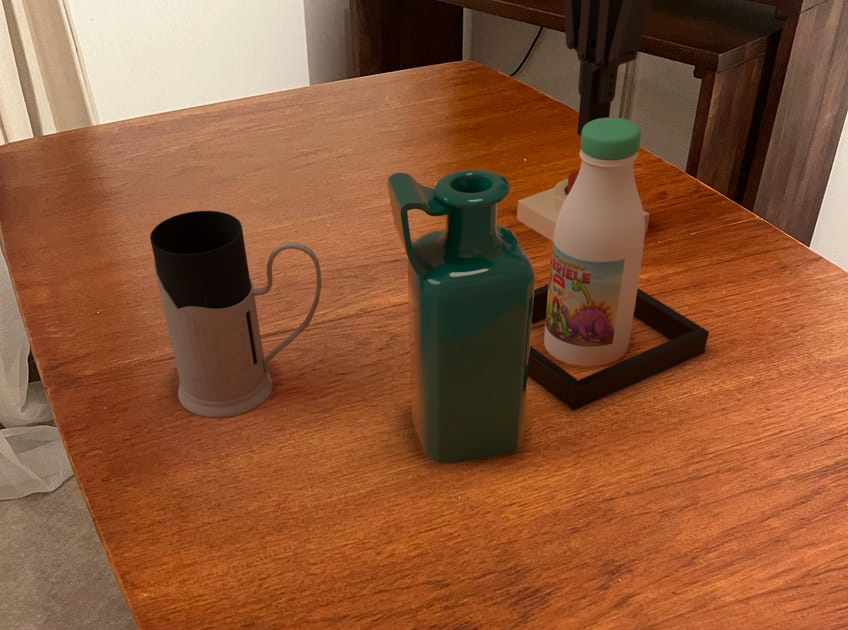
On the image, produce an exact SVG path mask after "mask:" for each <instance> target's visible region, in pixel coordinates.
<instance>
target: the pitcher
mask: <svg viewBox="0 0 848 630" xmlns="http://www.w3.org/2000/svg"><path fill="white" fill-rule="evenodd" d="M387 188H388V195H389V202H390V207H391V214H392V219H393V223H394V227H395V230H396V232H397V234H398V237H399V240H400V242H401V244H402V247H403V250H404V251H405V255H406V256H407V290H408V323H409V324H408V327H409V359H410V361H409V366H410V395H411V396H410V397H411V398H410V400H411V401H410V402H411V420H412V424H413V426H414V429H415V432H416V435H417V437H418V441H419V443H420V446H421V449H422V453H423V455H425V457H427V458H428V459H429V460H431V461H434V462H437V463H440V464H454V463H460V462H462V463H463V462H468V461H475V460H480V459H488V458H493V457H500V456H506V455H510V454H513V453H515V452H517V451H518V450H519V449H520V448H521V446H522V445H523V442H524V435H525V422H526V409H527V394H528V393H527V392H528V380H529V376H528V367H529V353H530V346H531V338H532V337H531V336H532V325H533V324H532V312H533V298H534V289H535V284H536V273H535V270H534V267H533V264H532V262H531V261H530V259H529V256H528V255H527V253H526V252H525V250H524V248H523V246H522V245H521V243H520V241H519V239H518V238H517V235H516V234H515V233H514V231H512V230H511V229H510V228H508V227H506V226H504V225H499V224H497V219H498V218H497V216H498V215H497V214H498V204H499V203H501V202H502V201H504V200H505V199H506V198H507V197H508V196H509V195H510V191H511V188H512V187H511V183H510V182H509V181H508V179H507V178H506V177H505V176H503V175H501V174H500V173H497V172H494V171H491V170H486V169H475V168H474V169H473V168H470V169H462V170H456V171H453V172H450V173H447V174H445V175H443V176H442V177H441V178H439V179H438V180H437V181H436V182H435V184H434V186H433V187H429V186H425V185H422V184H421V183H420V182H418V181H417V180H416V179H415V178H414V177H413V176H411V175H410V174H408V173H406V172H396V173H393V174H391V175H390V176H389V177H388V178H387ZM411 210H421V211H422V212H425V214H426V215H428V216H430V217H443V216H445V229H437V230H433V231H429V232H426V233H424V234H422V235H421V236H419V237H418V238H416V239H415V240H414V241H413V240H411V239H412V238H411V231H410V223H409V214H408V211H411Z"/></svg>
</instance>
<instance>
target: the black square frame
mask: <svg viewBox="0 0 848 630" xmlns="http://www.w3.org/2000/svg"><path fill="white" fill-rule="evenodd" d="M548 287H549V283H547V284H545V285H542V286H540V287H537V288H534V298H533V312H532V325H533V324H536V323H538V322H541V321H544V320H546V310H547V298H548ZM633 318H636V319H637V320H639V321H641V322H642V323H644V324H645V325H647V326H649V327H650V328H652V329H653V330H655V331H656V332H658V333H660V334H661V335H663V336H664V337H666V339H669V340H668V341H665V342H663V343H661V344H658V345H656V346H654V347H651V348H649V349H647V350H645V351H643V352H640V353H637V354H635V355H633V356H631V357H628V358H626V359H624V360H622V361H619V362H617V363H614V364H612V365H610V366H608V367H605V368H603V369H601V370H598V371H595V372H593V373H592V374H588V375H587V376H584V377H582V378H579V379H577V377H574V376H573V375H572V374H570V372H567V371H566V370H565V369H564V368H562V367H561V366H559V365H558V364H557V363H555V362H554V361H553V360H551V359H550V358H549V357H547V356H545V354H543V353H541V352H540V351H538V349H536V348H534V347H533V346H531V345H530V353H529V367H528V378H531V380H533V381H534V382H536V384H538V385H539V386H541V387H542V388H544V389H545V390H546V391H548V392H549V393H550V394H551V395H552V396H553V397H555V398H557V399H558V400H559V401H560V402H561V403H563V404H564V405H566V406H567V407H569V408H570V409H571V410H572V411H576V410H578V409H581V408H583V407H585V406H587V405H590V404H592V403H595V402H596V401H599V400H601V399H603V398H605V397H608V396H610V395H613V394H615V393H617V392H619V391H621V390H624V389H626V388H628V387H631V386H632V385H635V384H637V383H639V382H642V381H644V380H646V379H648V378H651V377H653V376H655V375H657V374H660V373H662V372H665V371H666V370H669V369H671V368H673V367H675V366H678V365H680V364H682V363H685V362H687V361H689V360H691V359H694V358H696V357H698V356H701V355H702V354H704V353H705V352H706V347H707V342H708V339H709V334H710V331H709V330H707V329H705V328H704V327H702V326H700V325H699V324H697V323H696V322H694V321H693V320H691V319H690V318H688V317H686V316H684V315H683V314H681V313H679V312H678V311H676V310H675V309H673V308H671V307H670V306H668V305H667V304H665V303H663V302H661V300H658V299H657V298H655V297H653V296H651V295H650V294H648V293H647V292H645V291H643V290H642V289H640V288H638V289H637V296H636V302H635V309H634V315H633Z"/></svg>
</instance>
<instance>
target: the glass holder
mask: <svg viewBox="0 0 848 630" xmlns="http://www.w3.org/2000/svg"><path fill="white" fill-rule="evenodd" d="M149 239H150V240H149V241H150V244H151V249H152V254H153V258H154V259H153V266H154V272H155V277H156V282H157V286H158V291H159V294H160V299H161V303H162V308H163V312H164V317H165V321H166V325H167V330H168V334H169V335H168V336H169V339H170V344H171V348H172V352H173V357H174V361H175V365H176V370H177V374H178V379H179V385H178V390H177V397H178V400H179V403H180V405H181V406H182V407H183V408H185V409H186V410H187V411H188V412H190V413H193V414H195V415H198V416H201V417H206V418H228V417H229V418H230V417H234V416H235V417H236V416H239V415H241V414H245V413H247V412H250V411H252V410H254V409H256V408H257V407H259V406H261V405H262V404H263V403H264V402H265V401H266V400H267V399H268V398H269V396H270V395H271V394H272V390H273V385H274V384H273V382H274V381H273V379H272V377H271V374H270V373H269V363H270V362H271V361H272V359H274V358H275V356H277V355H278V354H279V353H280V352H281V351H283V350H284V349H285V348H287V346H288V345H290V344H291V343H292V342H293V341H294V340H295V339H296V338H297V337H298V336H300V334H302V333H303V332H304V331H305V329H307V327H309V325H310V323H311V321H312V319H313V317H314V316H315V313H316V311H317V308H318V305H319V302H320V297H321V291H322V268H321V266H320V262H319V258H318V257H317V255H316V253H315V252H314V251H313V249H311V248H310V247H308V246H307V245H305V244H303V243H299V242H296V241H287V242H284V243H281V244H278V246H276V247H275V248H273V250H272V251H271V253H270V254H269V256H268V260H267V265H266V276H267V285H266V286H264V287H263V288H254V284H253V280H252V279H251V278H250V272H249V270H250V269H249V263H248V258H247V250H246V244H245V237H244V232H243V226H242V223H241V221H240V220H239V218H237V217H236V216H234V215H232V214H229V213H227V212H222V211H216V210H198V211H197V210H195V211H187V212H183V213H179V214H177V215H174V216H171V217H169V218H166V219H165V220H163V221H161V222H160V223H158V224H157V225H156V226H155V227H154V228H153V229H152V231H151V232H150V236H149ZM289 249H290V250H291V249H292V250H298V251H300V252H303V253H305V254H307V255H308V256H309V257H310V259H311V260H312V262H313V265H314V268H315V272H316V290H315V295H314V299H313V302H312V305H311V307H310V310H309V312H308V313H307V316H306V317H305V319H304V320H303V321H302V323H300V325H299V326H298V327H297V328H296V329H295V330H294V331H293V332H292V333H291V334H290V335H289V336H288V337H287V338H285V339H284V340H283V341H282V342H280V343H279V344H278V345H277V346H276V347H275V348H274V349H272V351H270V352H269V354H268V355H267V356H266V357H265V356H264V349H263V343H262V337H261V330H260V322H259V316H258V310H257V303H256V297H257V296H263V295H266V294H268V293H269V292H270V291H271V290H272V287H273V263H274V260H275V259H276V257H277V256H278V254H279V253H281V252H283V251H285V250H289ZM255 296H256V297H255Z"/></svg>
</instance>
